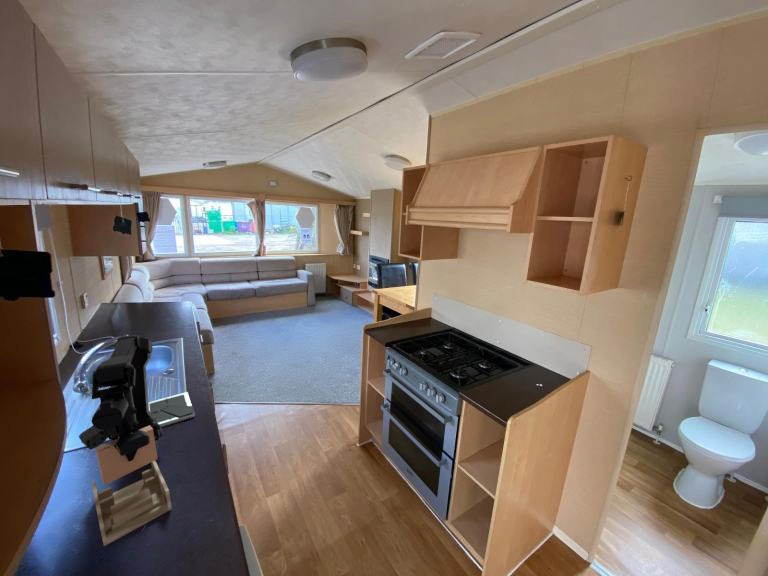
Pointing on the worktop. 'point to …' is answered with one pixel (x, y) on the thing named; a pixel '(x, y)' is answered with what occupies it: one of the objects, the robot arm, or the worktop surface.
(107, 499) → the rack
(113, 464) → the orange tan rectangular slab
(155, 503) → the offcut lower
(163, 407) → the picture frame
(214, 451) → the worktop surface
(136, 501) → the offcut upper
